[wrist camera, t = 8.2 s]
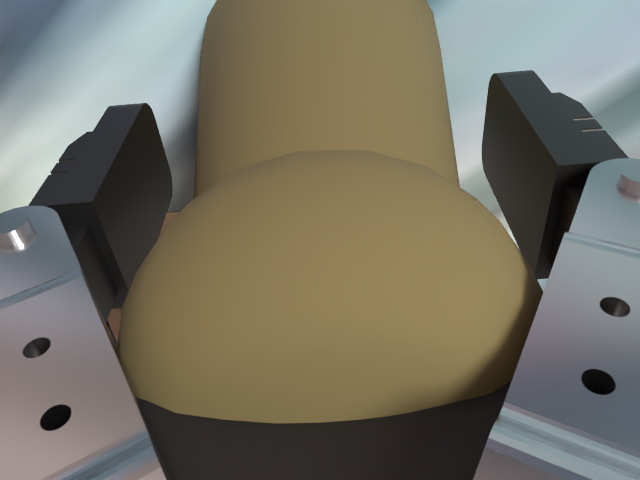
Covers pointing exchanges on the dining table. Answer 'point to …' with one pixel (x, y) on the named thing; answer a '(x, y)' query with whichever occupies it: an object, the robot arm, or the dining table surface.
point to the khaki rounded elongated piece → (325, 231)
